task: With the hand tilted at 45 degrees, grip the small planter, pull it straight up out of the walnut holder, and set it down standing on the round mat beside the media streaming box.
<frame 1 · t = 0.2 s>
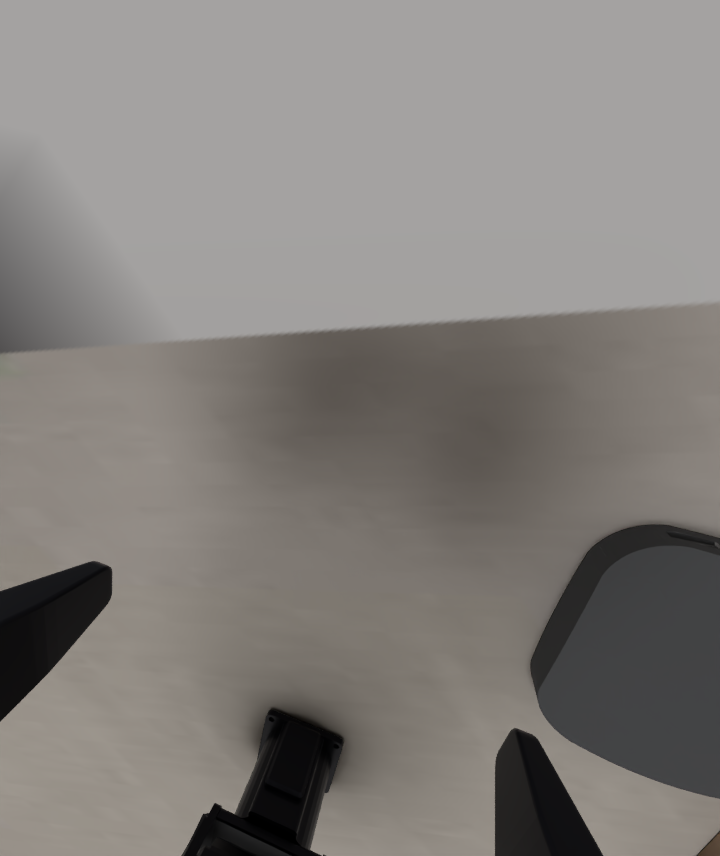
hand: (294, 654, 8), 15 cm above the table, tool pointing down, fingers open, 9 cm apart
media streaming box: (679, 643, 22), on the table
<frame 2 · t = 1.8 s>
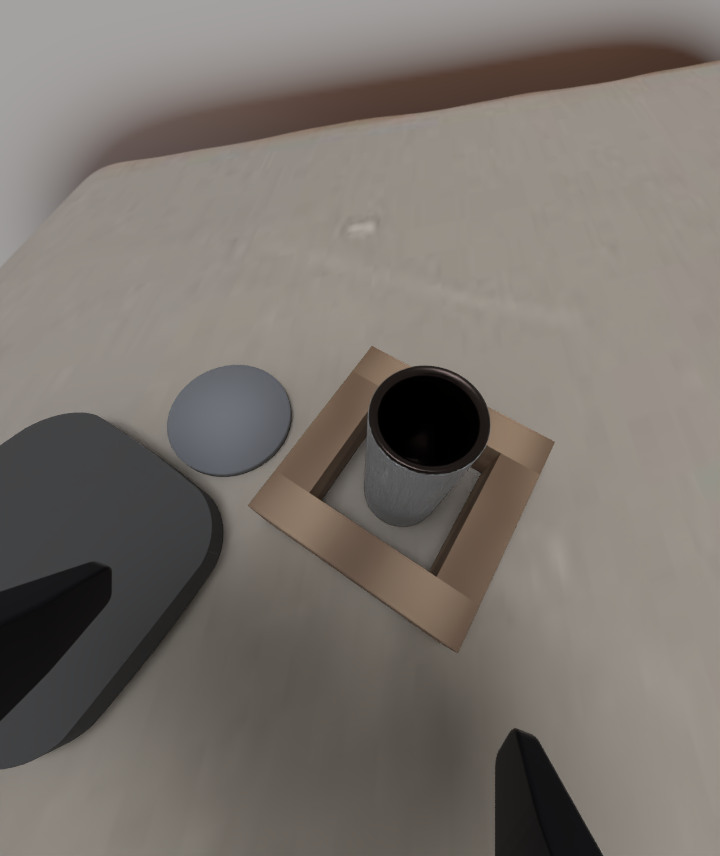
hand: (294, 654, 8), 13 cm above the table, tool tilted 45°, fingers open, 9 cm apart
planter: (400, 490, 23), resting in planter holder
media streaming box: (76, 562, 22), on the table
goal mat: (232, 419, 25), on the table
planter holder: (400, 489, 23), on the table
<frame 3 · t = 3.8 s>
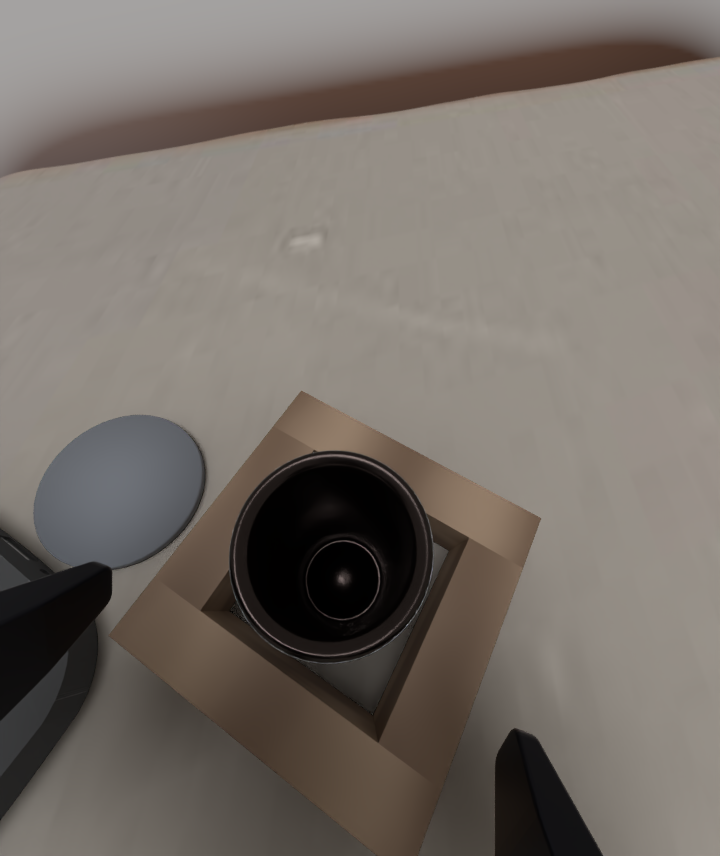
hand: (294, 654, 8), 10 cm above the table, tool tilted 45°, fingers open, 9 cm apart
planter: (343, 580, 17), resting in planter holder
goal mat: (126, 488, 19), on the table
planter holder: (343, 579, 17), on the table
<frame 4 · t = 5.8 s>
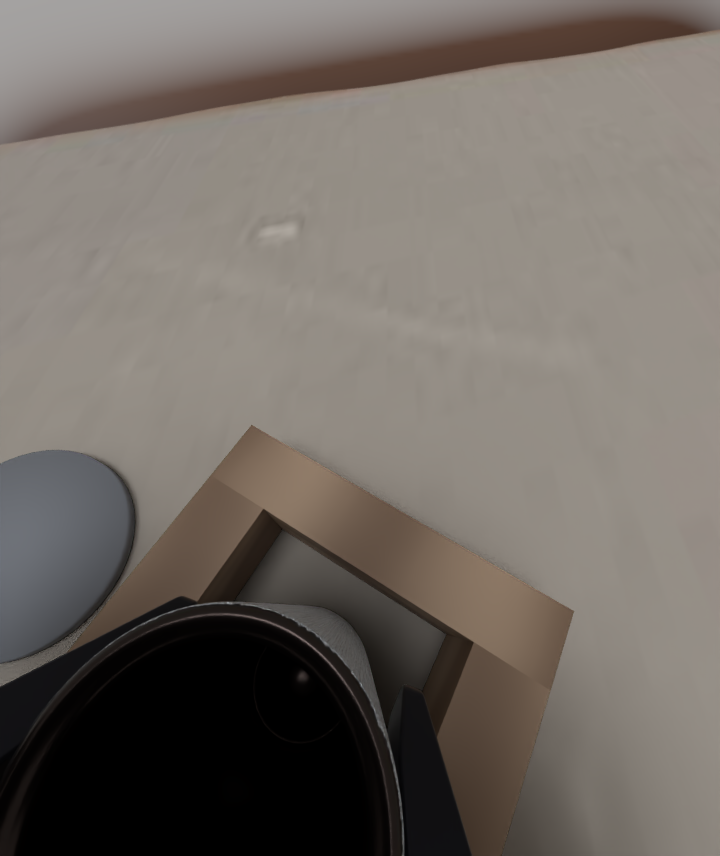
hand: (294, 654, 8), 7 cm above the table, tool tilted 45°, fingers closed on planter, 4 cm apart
planter: (306, 675, 13), resting in planter holder, touching gripper
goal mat: (31, 547, 15), on the table
planter holder: (306, 676, 13), on the table
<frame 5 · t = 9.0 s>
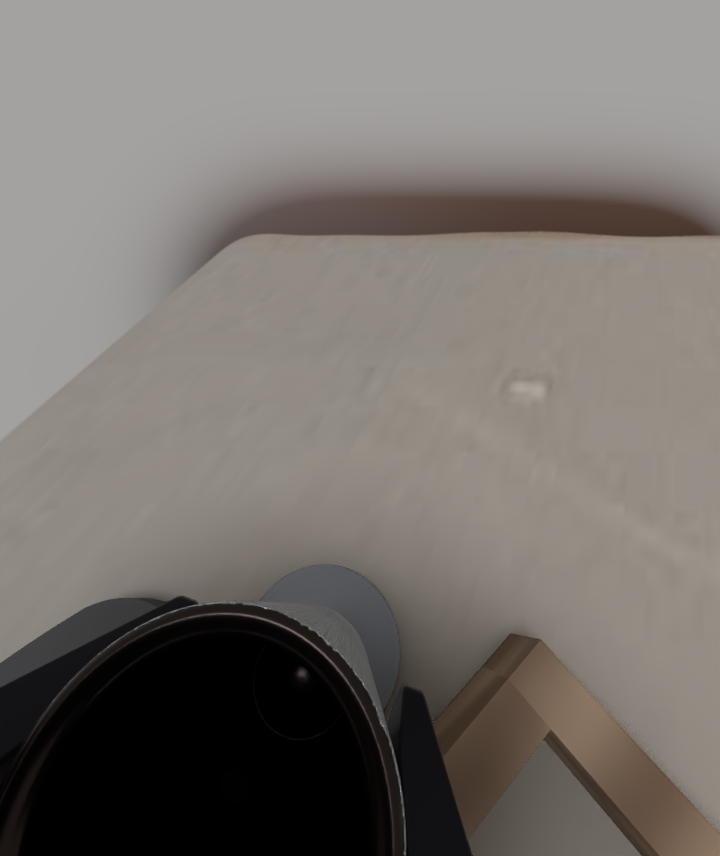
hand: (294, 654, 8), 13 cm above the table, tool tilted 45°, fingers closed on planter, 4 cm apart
planter: (306, 673, 13), point 6 cm above the table, touching gripper
media streaming box: (94, 806, 17), on the table
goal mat: (322, 647, 19), on the table
when the fingers open (8 cm above the table, at t = 12.4 s): planter stays where it is, resting on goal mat.
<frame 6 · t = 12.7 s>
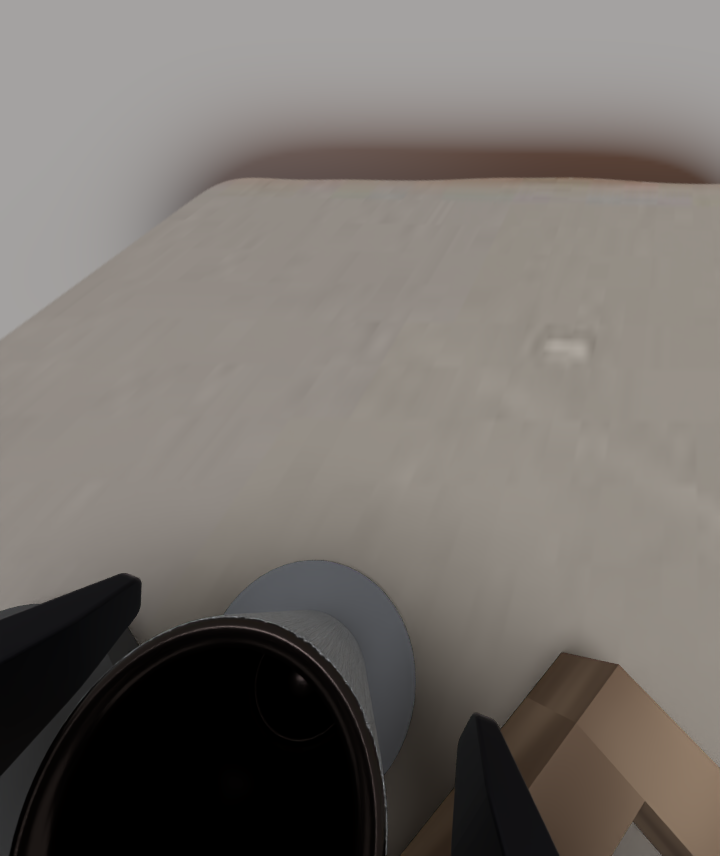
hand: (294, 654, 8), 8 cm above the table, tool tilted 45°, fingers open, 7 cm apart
planter: (305, 676, 14), resting on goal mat
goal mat: (310, 670, 14), on the table
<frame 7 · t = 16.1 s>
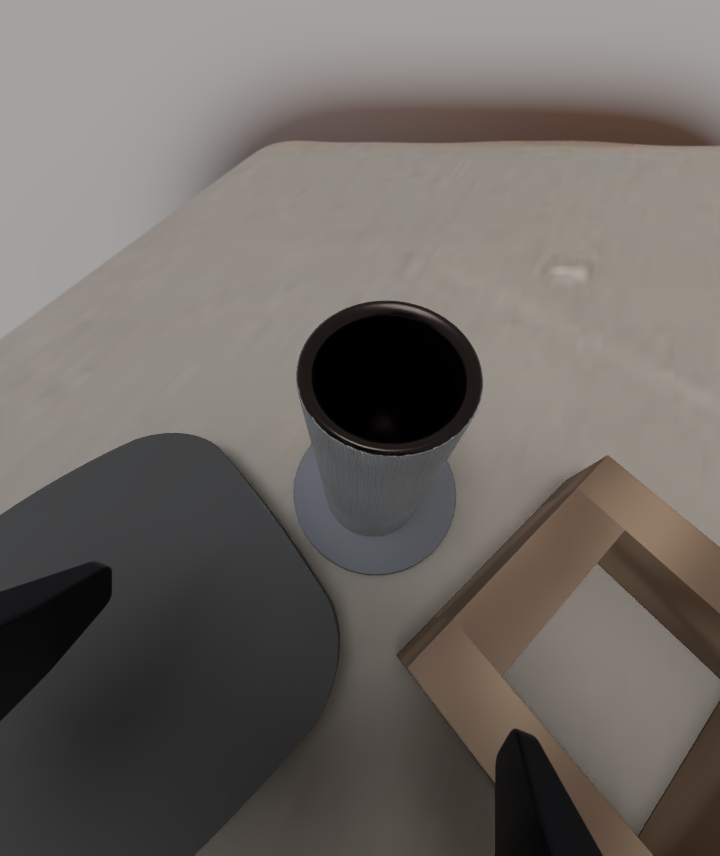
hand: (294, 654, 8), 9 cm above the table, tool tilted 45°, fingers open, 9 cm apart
planter: (372, 491, 18), resting on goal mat
media streaming box: (146, 632, 16), on the table
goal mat: (374, 490, 19), on the table
planter holder: (599, 674, 15), on the table
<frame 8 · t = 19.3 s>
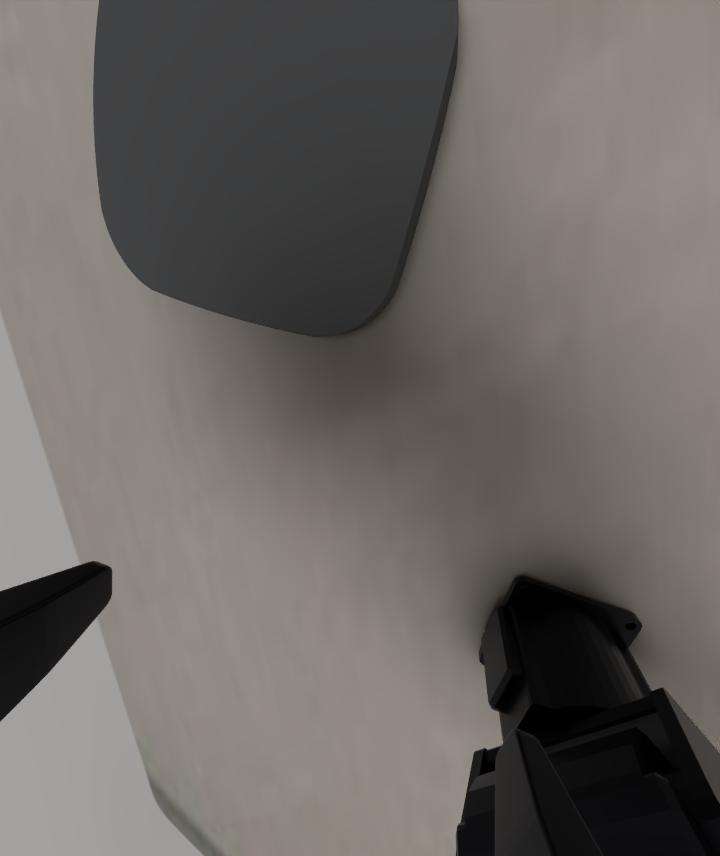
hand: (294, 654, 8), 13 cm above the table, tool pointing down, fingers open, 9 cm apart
media streaming box: (278, 159, 17), on the table
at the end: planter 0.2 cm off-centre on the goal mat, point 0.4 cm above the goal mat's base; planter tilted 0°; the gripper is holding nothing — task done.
